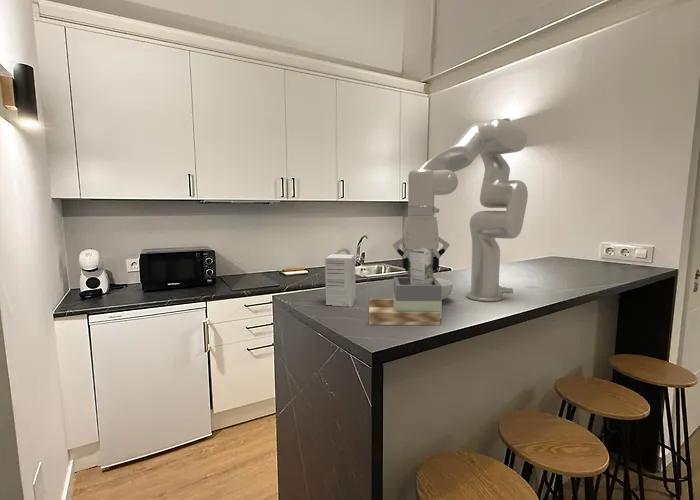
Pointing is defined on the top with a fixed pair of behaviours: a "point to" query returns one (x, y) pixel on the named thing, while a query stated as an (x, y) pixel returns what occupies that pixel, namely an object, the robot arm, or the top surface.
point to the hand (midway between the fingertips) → (420, 270)
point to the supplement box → (340, 279)
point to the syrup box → (420, 267)
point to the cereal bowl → (445, 287)
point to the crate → (416, 296)
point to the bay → (398, 315)
